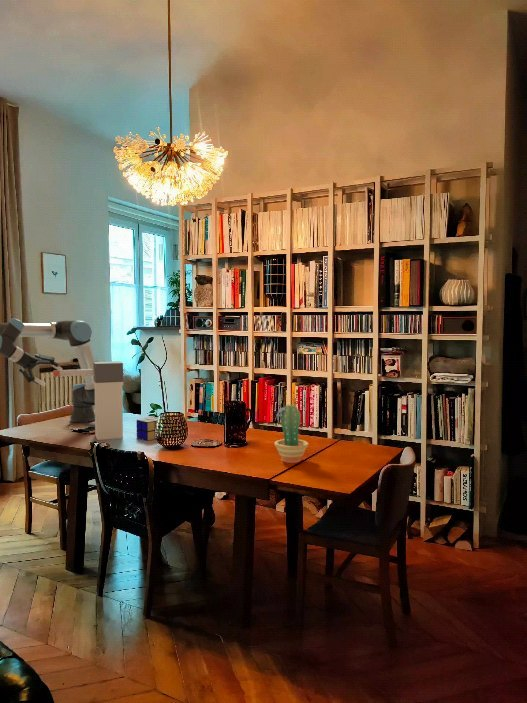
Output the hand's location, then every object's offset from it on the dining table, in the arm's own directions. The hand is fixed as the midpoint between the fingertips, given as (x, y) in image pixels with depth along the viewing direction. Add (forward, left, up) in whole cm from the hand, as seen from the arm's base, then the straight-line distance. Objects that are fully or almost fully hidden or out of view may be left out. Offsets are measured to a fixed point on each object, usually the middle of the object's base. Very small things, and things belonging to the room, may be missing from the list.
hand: (53, 377), depth 291 cm
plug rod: (+2, +20, +2) cm, 20 cm away
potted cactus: (-3, +136, -32) cm, 140 cm away
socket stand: (-8, +30, -31) cm, 44 cm away
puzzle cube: (-14, +52, -32) cm, 63 cm away
